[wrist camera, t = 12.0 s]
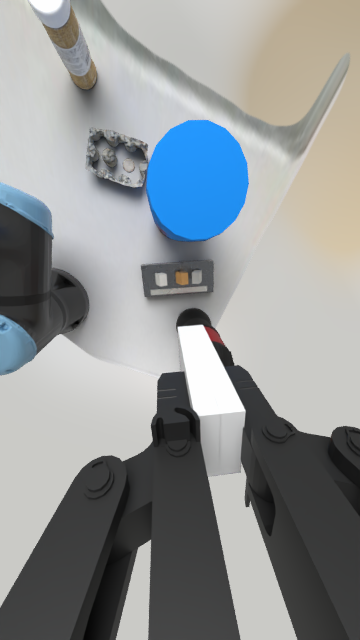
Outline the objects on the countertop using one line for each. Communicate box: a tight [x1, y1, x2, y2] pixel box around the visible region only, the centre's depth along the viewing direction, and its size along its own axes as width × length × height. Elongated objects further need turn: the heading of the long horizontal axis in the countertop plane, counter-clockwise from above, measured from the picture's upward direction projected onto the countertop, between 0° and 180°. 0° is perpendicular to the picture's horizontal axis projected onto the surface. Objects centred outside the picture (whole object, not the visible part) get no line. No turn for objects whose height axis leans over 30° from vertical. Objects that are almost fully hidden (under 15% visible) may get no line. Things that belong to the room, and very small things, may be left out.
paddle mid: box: [176, 271, 188, 285], centre depth 45 cm, size 2×2×3 cm
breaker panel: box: [141, 260, 213, 297], centre depth 48 cm, size 16×7×3 cm, turn 93°
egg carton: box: [86, 128, 148, 188], centre depth 39 cm, size 11×8×4 cm
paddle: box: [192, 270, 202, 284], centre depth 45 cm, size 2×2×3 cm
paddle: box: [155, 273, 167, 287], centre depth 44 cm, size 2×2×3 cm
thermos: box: [146, 120, 249, 242], centre depth 33 cm, size 11×11×25 cm
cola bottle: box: [176, 308, 234, 367], centre depth 40 cm, size 8×8×30 cm
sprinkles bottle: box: [28, 0, 97, 89], centre depth 29 cm, size 5×5×13 cm
